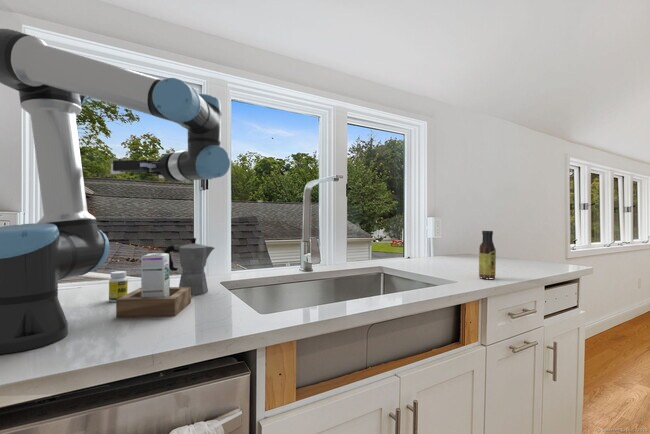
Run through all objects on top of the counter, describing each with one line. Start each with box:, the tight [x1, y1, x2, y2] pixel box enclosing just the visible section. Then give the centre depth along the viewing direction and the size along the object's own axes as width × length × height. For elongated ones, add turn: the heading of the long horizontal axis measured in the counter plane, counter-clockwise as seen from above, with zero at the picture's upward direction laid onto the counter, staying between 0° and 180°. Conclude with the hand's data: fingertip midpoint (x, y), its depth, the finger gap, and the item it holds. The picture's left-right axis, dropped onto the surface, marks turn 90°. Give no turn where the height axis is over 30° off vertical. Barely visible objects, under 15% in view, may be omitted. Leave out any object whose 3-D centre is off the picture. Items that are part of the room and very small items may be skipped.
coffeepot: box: [163, 237, 215, 296], centre depth 114 cm, size 15×9×18 cm, turn 108°
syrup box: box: [140, 252, 171, 297], centre depth 93 cm, size 6×6×14 cm
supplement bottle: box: [108, 270, 129, 303], centre depth 103 cm, size 5×5×8 cm
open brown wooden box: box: [115, 286, 192, 319], centre depth 94 cm, size 14×14×4 cm
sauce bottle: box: [478, 230, 497, 278], centre depth 144 cm, size 7×6×20 cm
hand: (137, 171), depth 101 cm, fingers open, 13 cm apart
